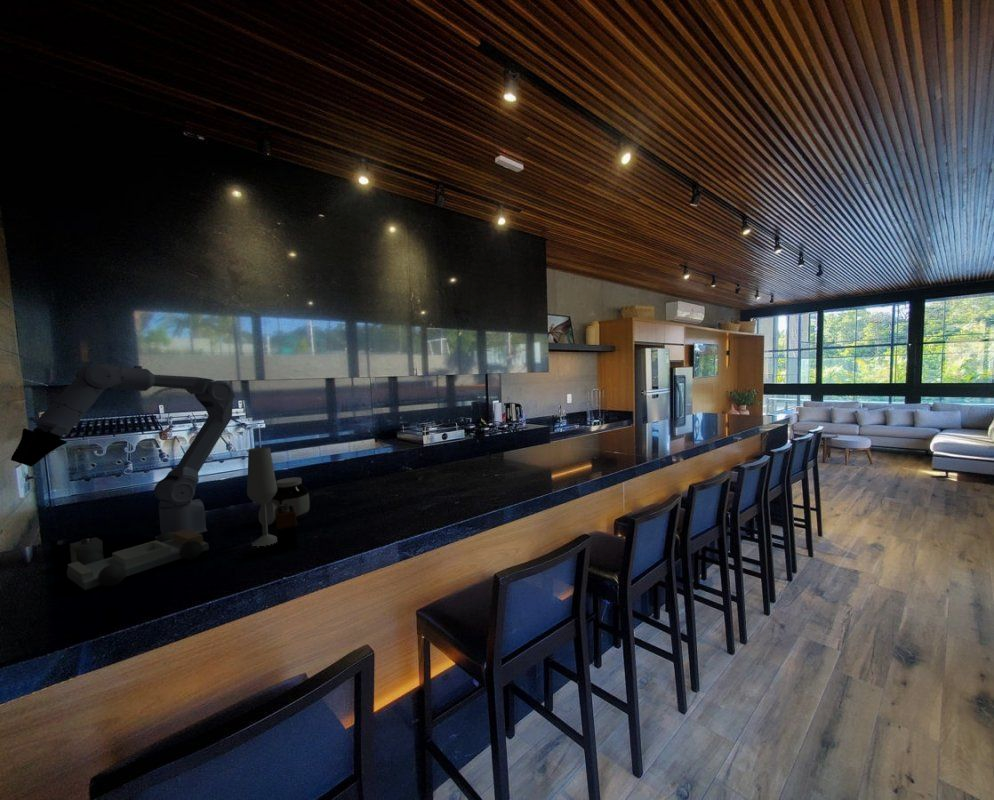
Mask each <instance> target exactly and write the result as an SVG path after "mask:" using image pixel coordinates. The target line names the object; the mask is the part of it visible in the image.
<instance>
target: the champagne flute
mask: <svg viewBox="0 0 994 800" xmlns="http://www.w3.org/2000/svg"><path fill="white" fill-rule="evenodd" d="M247 451H248V454H247V455H248V456H247V457H248V458H247V481H246V482H247V483H246V485H247V486H246V495H247V497H248V498H249V499H250V500H251V501H252V502H254V503H255V504H257V505H260V508H261V516H262V524H261V527H262V529H261V530H262V535H260V537H258V538H257V539H255V540H254V541H252V542H251V544H252V546H251V547H253V546H257V547H256V548H260V547H259V546H264V547H267V546H266V545H268V546H271V544H272V545H274V543H275V544H277V543H276V542H277V535H273V534H270V533H269V528H268V526H269V525H267V512H266V504H267V503H268V502H269V501H270V500H271V499H272V498H273V497H274V496H275V494H276V492H277V484H276V481H277V480H276V474H275V473H276V472H275V468H274V462H273V457H272V452H271V447H270V446H263V447H262V446H261V447H260V446H259V447H255V448H254V447H253V448H250V449H248V450H247Z"/></svg>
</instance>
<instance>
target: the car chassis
mask: <svg viewBox="0 0 994 800" xmlns="http://www.w3.org/2000/svg"><path fill="white" fill-rule="evenodd" d="M157 536H158V537H157V538H155V540H151V541H148V542H145V543H142V544H139V545H134V546H131V547H128V548H124V549H120V550H117V551H113V552H112V553H111V555H112V556H111V557H108V558H105V557H104V555H103V556H102V555H101V554H99V553H97V552H90V553H87V554H85V555H83V556H82V557H81V558H80V559H79V561H77V562H74V563H68V564H67V569H66V574H67V578H68V579H70V580H71V581H72V582H73V583H75V585H77V586H78V587H80V588H81V589H82V590H84V591H87V590H90V589H93V588H95V587H99V586H102V585H103V586H105V587H114V586H117V585H119V584H120V583H122V582H123V581H124V579H126V577H129V576H132V575H135V574H138V573H142V572H144V571H148V570H150V569H153V568H156V567H157V568H158V567H160V566H163V565H165V564H169V563H172V562H175V561H178V560H181V559H185V560H189V561H190V560H194V559H197V557H199V556H200V555H201V553H202V552H204V551H208V550H210V545H209V542H206V541H204V535H203V533H200V534H199V533H196V532H193V531H190V530H188V529H185V530H181V531H178V532H174V533H173V532H170V531H166V532H163V533H161V532H160V533H159V534H158V535H157Z"/></svg>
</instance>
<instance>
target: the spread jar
mask: <svg viewBox="0 0 994 800" xmlns="http://www.w3.org/2000/svg"><path fill="white" fill-rule="evenodd" d="M276 484H277V492H276V494H275V496H274V497H273V498H272V499H271V500H270V501H269V502H268V503H267V504H266V512H267V526H270V525H272V524H273V523H274V522H275V521H276V517H275V509H276V508H280V505H282V504H286V503H287V504H289V506H294V507H295V511H296V521H299V520H301V519H303V518H304V517H305V516H307V514H308V512H309V511H310V508H311V507H310V506H311V505H310V493H309V490H308V488H307V487H306V486H304V485H303V484H302V478H301V477H299V476H298V477H297V476H296V477H295V476H294V477H286V478H281V479H278V480H276ZM258 511H259V512H258V521H259V524H261V525H262V516H261V507H260V508H259V510H258Z"/></svg>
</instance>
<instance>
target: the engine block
mask: <svg viewBox="0 0 994 800" xmlns="http://www.w3.org/2000/svg"><path fill="white" fill-rule="evenodd" d="M103 548H104V547H103V540H102V539H100V538H98V537H85V538H82V539H81V540H79V541H76V542H72V543H69V552H70V560H71V561H70V562H71V563H74V562H77V561H79V559H80V558H81V557H82V556H83V555H85V554H87V553H90V552H97V553H99V554H101V555H102V556H103V557H104V549H103Z"/></svg>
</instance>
